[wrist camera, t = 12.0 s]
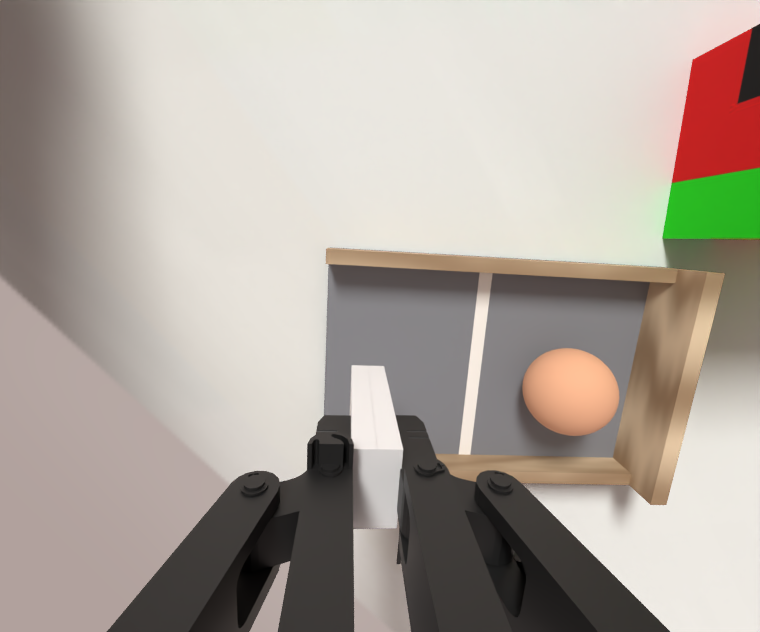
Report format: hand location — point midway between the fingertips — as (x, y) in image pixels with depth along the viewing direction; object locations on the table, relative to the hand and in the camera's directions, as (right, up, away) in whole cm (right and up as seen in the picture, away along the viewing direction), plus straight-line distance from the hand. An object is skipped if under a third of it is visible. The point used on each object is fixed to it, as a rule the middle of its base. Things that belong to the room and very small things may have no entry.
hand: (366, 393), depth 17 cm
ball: (+12, -1, +4) cm, 12 cm away
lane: (+8, 0, +7) cm, 10 cm away
